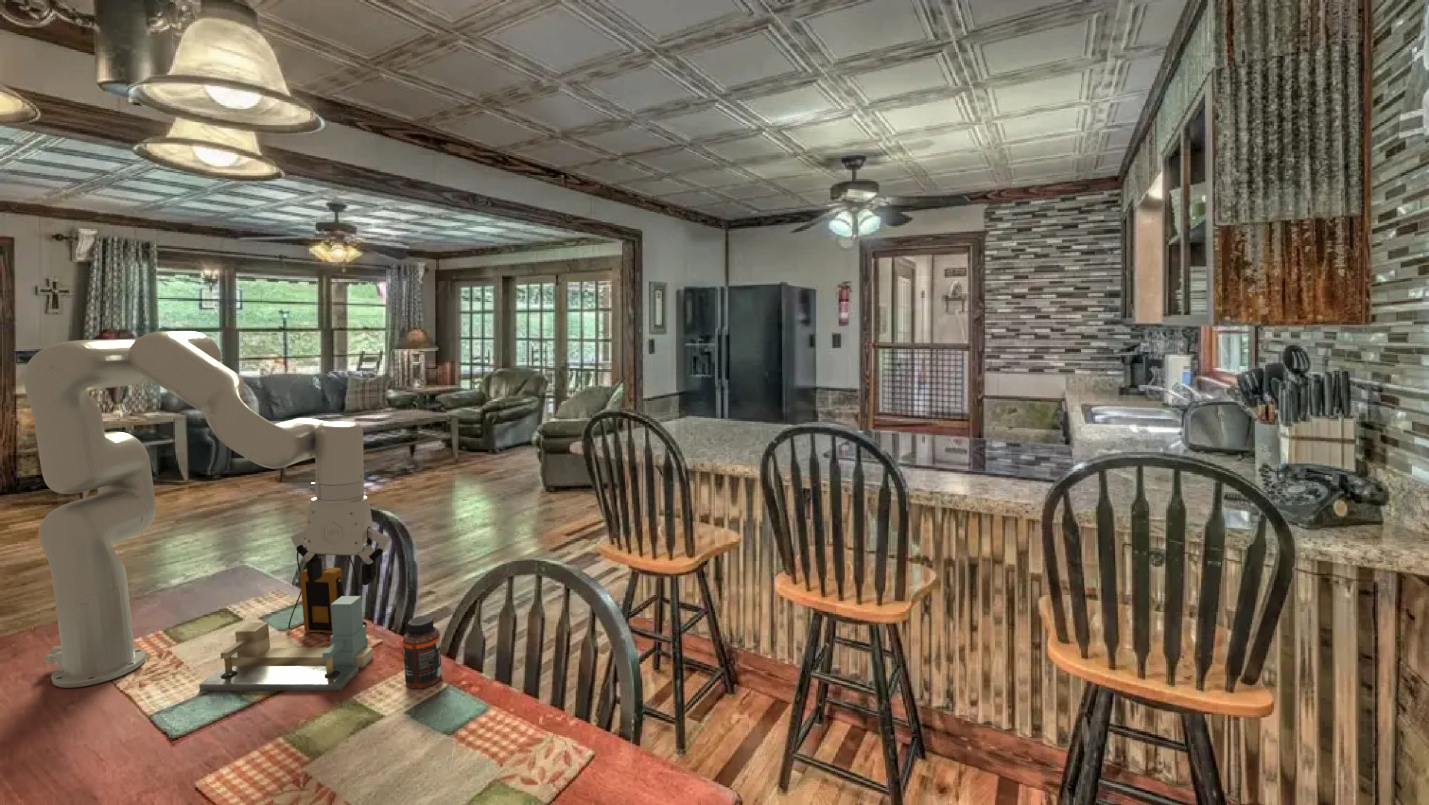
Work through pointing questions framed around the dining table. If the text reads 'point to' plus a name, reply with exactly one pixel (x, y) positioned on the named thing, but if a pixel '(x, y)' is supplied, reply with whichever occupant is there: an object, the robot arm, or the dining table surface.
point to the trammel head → (345, 632)
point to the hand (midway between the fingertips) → (341, 581)
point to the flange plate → (280, 678)
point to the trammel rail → (275, 651)
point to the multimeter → (320, 598)
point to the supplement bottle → (422, 653)
